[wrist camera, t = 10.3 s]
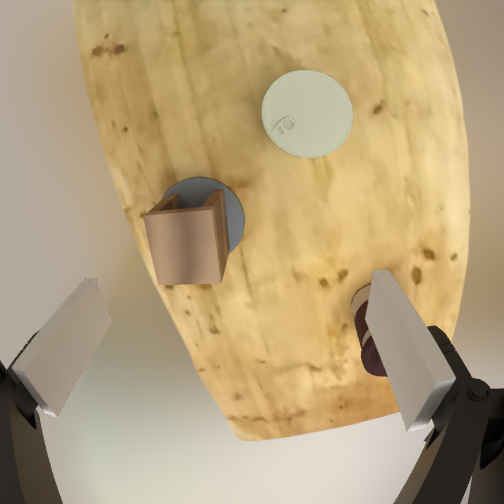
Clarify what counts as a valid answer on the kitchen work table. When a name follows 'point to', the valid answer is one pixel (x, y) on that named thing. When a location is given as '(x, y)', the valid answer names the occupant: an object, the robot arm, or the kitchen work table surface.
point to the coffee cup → (366, 334)
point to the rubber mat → (198, 192)
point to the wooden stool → (188, 240)
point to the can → (307, 113)
